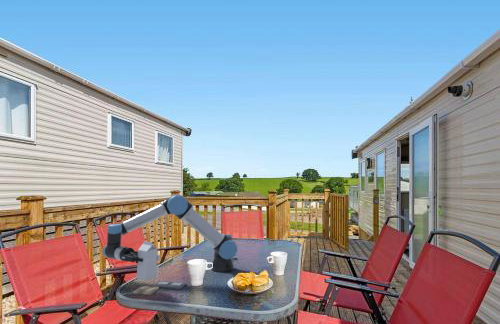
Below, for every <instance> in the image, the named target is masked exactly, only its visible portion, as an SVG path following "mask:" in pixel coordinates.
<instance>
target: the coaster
mask: <svg viewBox="0 0 500 324" xmlns="http://www.w3.org/2000/svg"><path fill="white" fill-rule="evenodd" d="M159 289H160V288H159V287H153V286H149V285H142V286H140V287H138V288H136V289H135V290H133V291H132V294H136V295H149V296H151V295H152V294H155V292H156V291H158V290H159Z"/></svg>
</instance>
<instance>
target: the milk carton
mask: <svg viewBox="0 0 500 324" xmlns="http://www.w3.org/2000/svg"><path fill="white" fill-rule="evenodd" d="M153 243H154V242H151V241H145V240H143V243H142V245H141V246H140V247H138V248H137V252H138V258H139V256H141V257H147V258H149V263H142V262H139V261H138V263H136V264H137V266H136V279H138V280H142V281H148V280H152V279H155V278H157V265H158V260H157V255H158V248H157V247H156V246H155V245H154V244H153Z"/></svg>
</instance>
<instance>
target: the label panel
mask: <svg viewBox="0 0 500 324" xmlns="http://www.w3.org/2000/svg"><path fill="white" fill-rule="evenodd" d="M186 285H187V282H184V281H182V282H181V281H168V280H159V281H158V282H156V283H154V285H153V287H159V289H166V290H167V289H168V290H169V289H170V290H182V289H183V288H184V287H186Z"/></svg>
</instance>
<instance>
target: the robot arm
mask: <svg viewBox="0 0 500 324" xmlns="http://www.w3.org/2000/svg"><path fill="white" fill-rule="evenodd" d="M171 214H172V215H174V216H175V217H177V219H179V220H181V221H182V220H183V221H185V222H186V223H187V224H188V225H189V226H191V228H192V229H194V230H195V232H197V233H198V234H199V235H201V236H202V237H203V238H204V239H205V240H206V241H208V243H210V244H211V248H212V249H213V259H212V262H211V267H212V263H213V268H212V269H211V270H212V271H213V272H216V273H218V272H219V273H225V272H226V273H227V272H231V271H233V270H234V269H235V268H234V267H235V266H234V263H233V258H235V256H236V255H237V253H238V245H237V242H235V241H234V240H232V239H233V237H232V235H231V234H225V233H221V232H219V231H218V229H217V228H215V227H214V226H213V225H212V224H211V223H210V222H208V221H207V219H205V218H204V217H203V216H202V215H201V214H199V213H198V212H197V211H196V210H195V209H194V205H193V204H192V203H191V202H190V201H189V200H187V198H186V197H185V196H184V195H181V194H176V193H175V194H172V195H171V196H170V197H168V198H167V199H165V200H162V201H161V202H160V204H157V205H156V206H154V207H151V208H150V209H147V210H145V211H144V212H141V213H138V214H137V215H135V216H132V217H130V218H129V219H127V220H125V221H122V222H120V223H112V224H108V225H107V240H106V241H107V242H106V244H105V246H104V247H103V249H102V255H103V256H104V257H105V258H107V259H112V260H118V261H120V262H122V261H123V262H131V263H135V264H137V263H138V261H139V262H142V263H149V258H147V257H141V256H139V258H138V250H135V249H134V248H132V247H128V246H122V237H123V236H125V235H127V234H129V233H131V232H133V231H135V230H137V229H139V228H141V227H143V226H145V225H147V224H149V223H151V222H153V221H155V220H157V219H160V218H162V217H164V216H169V215H171ZM160 260H161V254H157V261H160ZM211 267H210V268H211Z"/></svg>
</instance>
